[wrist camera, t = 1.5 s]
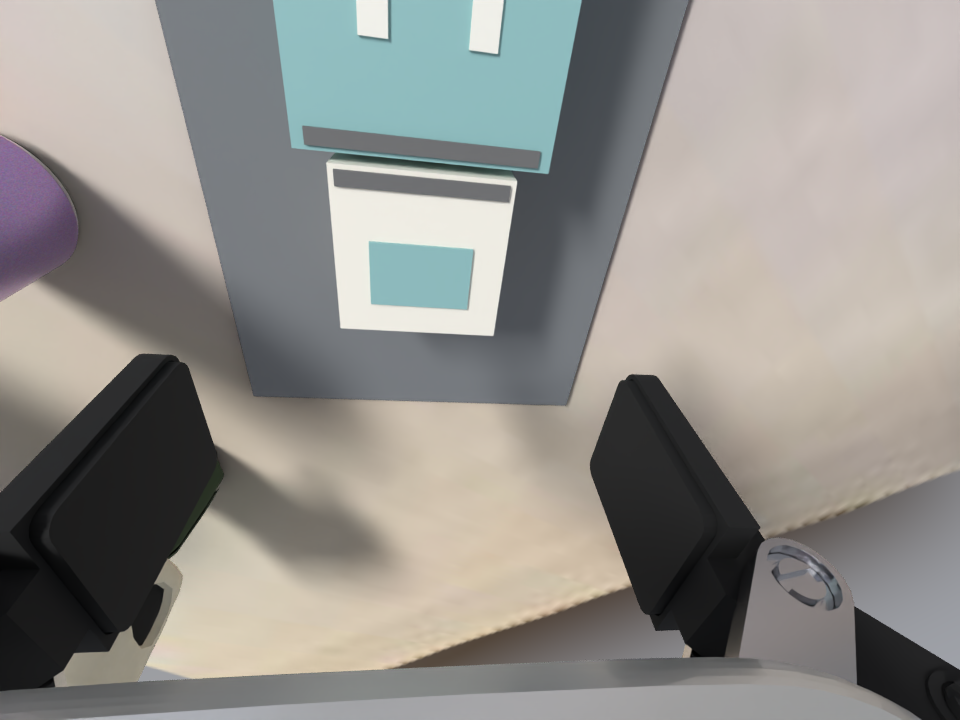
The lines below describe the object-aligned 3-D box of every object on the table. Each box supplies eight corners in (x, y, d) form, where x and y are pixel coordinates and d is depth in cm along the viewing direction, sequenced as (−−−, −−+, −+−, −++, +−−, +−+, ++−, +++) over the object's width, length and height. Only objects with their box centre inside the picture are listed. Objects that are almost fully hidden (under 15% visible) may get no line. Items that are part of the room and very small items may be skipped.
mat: (-47, -856, 8) (-68, -895, 7) (844, -538, 10) (857, -557, 10) (256, 391, 25) (253, 396, 24) (564, 401, 27) (565, 405, 27)
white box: (349, 136, 17) (325, 163, 13) (500, 152, 18) (517, 182, 14) (357, 277, 21) (340, 329, 17) (483, 285, 21) (493, 337, 18)
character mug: (215, 522, 31) (105, 765, 21) (98, 497, 29) (-95, 759, 18) (253, 422, 26) (131, 679, 16) (115, 381, 23) (-142, 655, 13)
